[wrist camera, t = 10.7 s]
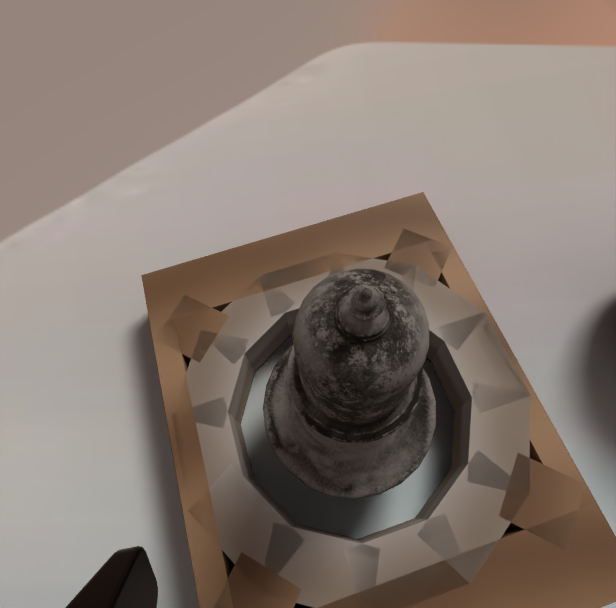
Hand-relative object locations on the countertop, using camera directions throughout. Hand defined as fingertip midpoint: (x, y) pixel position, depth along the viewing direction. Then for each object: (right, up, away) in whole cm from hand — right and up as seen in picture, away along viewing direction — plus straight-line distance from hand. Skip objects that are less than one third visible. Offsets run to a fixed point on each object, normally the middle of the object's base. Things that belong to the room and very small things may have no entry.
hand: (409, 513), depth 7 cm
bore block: (0, -1, +11) cm, 11 cm away
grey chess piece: (0, -1, +11) cm, 11 cm away
